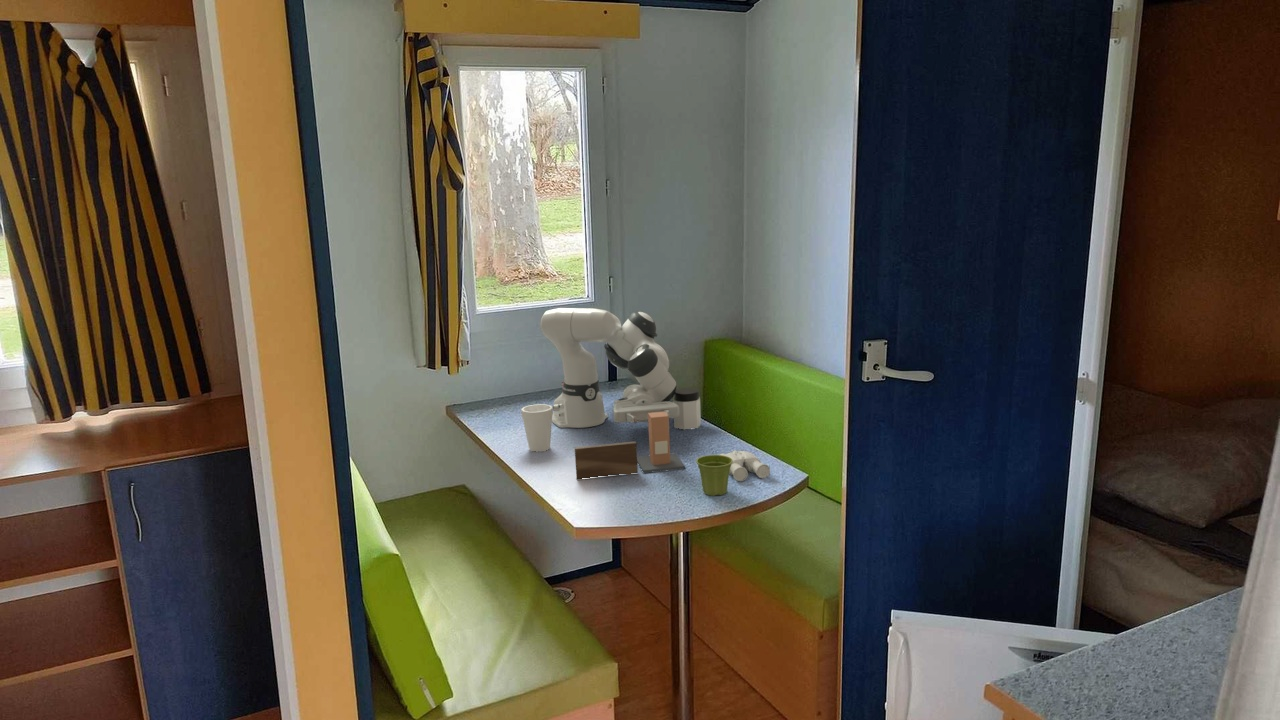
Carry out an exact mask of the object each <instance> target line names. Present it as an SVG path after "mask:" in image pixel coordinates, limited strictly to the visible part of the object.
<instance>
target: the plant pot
mask: <svg viewBox="0 0 1280 720" xmlns="http://www.w3.org/2000/svg"><path fill="white" fill-rule="evenodd" d="M732 462H733V460H732V459H731V458H730V457H727V456H722V455H720V454H707V455H703V456H699V457H698V458H697V459H696V465H697V466H698V467H697V468H698V469H699V474H700V479H701V485H702V486H701V487H702V491H703V493H704V494H705V495H708V496H717V495H719V496H722V495H725V494H726V493H727V492H728V484H729V478H730V477H729V476H730V474H729V471H730V467H731V464H732Z"/></svg>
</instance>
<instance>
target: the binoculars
mask: <svg viewBox="0 0 1280 720" xmlns="http://www.w3.org/2000/svg"><path fill="white" fill-rule="evenodd" d="M719 455H722V456H727V457H730V458H731V459H732V460H733V462H732V464H731V467H730V471H729V475H731V476H732V477H733V479H735V481H737V482H744V481H745V480H746V479H747V478H748V476H749V473H755V474H756V476H757V478H760V479H765V478H767V477H768V476H769V475H770V472H771V468H770V466H769V465H768V464H766V463H762V461H761V459H759V458H758V457H757V456H756V455H755V454H753V453H751V451H746V450H745V451H744V450H740V451H739V450H733V451H731V452H728V453H723V452H722V453H719Z"/></svg>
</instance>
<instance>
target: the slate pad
mask: <svg viewBox="0 0 1280 720" xmlns="http://www.w3.org/2000/svg"><path fill="white" fill-rule="evenodd" d="M638 464H639V465H638ZM637 465H638V467H639V466H640V467H639V468H640V470H641V469H642V470H641V472H642V471H643V472H649V473H653V472H652V471H658V472H666V470H668V471H675V470H684V469H686V468H685V467H686V465H685V464H684V463H683V462H682V460H681V458H680V457H679V456H678V454H677V453H676V452H674V453H670V463H669V464H659V465H653V464H652V462H651V461H650V455H645V456H637ZM643 472H642V473H643Z"/></svg>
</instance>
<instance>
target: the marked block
mask: <svg viewBox="0 0 1280 720" xmlns="http://www.w3.org/2000/svg"><path fill="white" fill-rule="evenodd" d="M669 420H670V418H669V416H668V415H667V413H666V412H654V413H648V421H647V424H648V444H649V446H648V447H649V448H648V449H649V456H650V461H651V462H652V464H653V465H659V464H669V463H670V454H671V447H670V446H671V445H670V444H671V443H670V421H669Z"/></svg>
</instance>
